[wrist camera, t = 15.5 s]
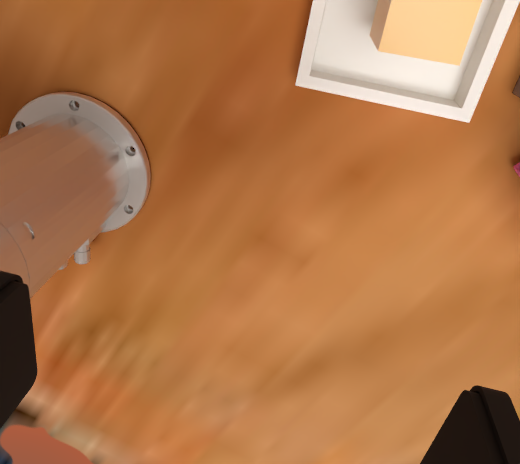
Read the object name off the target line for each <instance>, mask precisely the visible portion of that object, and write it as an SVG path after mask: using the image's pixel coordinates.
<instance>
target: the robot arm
mask: <svg viewBox="0 0 520 464" xmlns="http://www.w3.org/2000/svg"><path fill="white" fill-rule="evenodd" d="M77 102H78V103H77ZM78 104H79V105H78ZM132 147H134V149H135V150H134V149H133V148H132ZM150 179H151V173H150V166H149V160H148V157H147V154H146V151H145V148H144V146H143V145H142V143H141V141H140V139H139V137H138V135H137V134H136V132H135V131H134V130H133V128H132V127H131V126H130V125H129V123H128V122H127V121H126V120H125V119H124V118H123V117H122V116H121V115H120V114H119V113H117V112H116V111H115V110H113V109H112V108H110V107H109V106H108V105H106V104H105V103H103V102H101V101H99V100H97V99H94V98H92V97H90V96H87V95H83V94H79V93H74V92H56V93H50V94H47V95H44V96H41V97H38V98H36V99H34V100H32V101H31V102H29V103H27V104H26V105H25V106H24V107H23V108H22V109H21V110H19V111H18V113H17V114H16V116H15V117H14V119H13V120H12V123H11V126H10V129H9V132H8V135H7V136H4V137H2V138H0V428H1V427H2V426H3V424H4V423H5V422H6V421H7V419H8V418H9V417H10V415H11V414H12V413H13V411H14V410H15V409H16V407H17V406H18V405H19V403H20V402H21V401H22V399H23V398H24V397H25V395H26V394H27V393H28V391H29V390H30V389H31V387H32V386H33V384H34V382H35V379H36V376H37V363H36V353H35V343H34V333H33V324H32V314H31V304H30V298H31V297H32V296H33V295H34V294H35V293H36V292H37V291H38V290H39V289H40V288H41V287H42V286H43V285H44V284H45V283H46V282H47V281H48V280H49V279H50V278H51V277H52V276H53V275H54V274H55V273H56V272H57V271H58V270H61V269H64V268H65V267H67V265H68V259H69V258H70V257H71V256H72V255H73V254H74V260H75V262H76V263H78V264H86V263H88V262H90V259H91V257H90V243H91V242H92V241H93V240H94V238H95V237H96V236H97V235H98V234H99V233H101V232H108V231H112V230H115V229H118V228H120V227H122V226H124V225H125V224H127V223H128V222H129V221H130V220H132V219H133V218H134V217H135V216H136V215H137V213H138V212H139V211H140V210H141V209H142V207H143V205H144V203H145V201H146V199H147V196H148V193H149V189H150ZM420 464H520V421H519V418H518V416H517V413H516V411H515V408H514V406H513V403H512V401H511V399H510V397H509V395H508V394H507V393H505V392H502V391H498V390H494V389H490V388H486V387H482V386H474V387H472V389H471V390H470V391H467V390H464V391H463V392H462V393H461V395H460V396H459V398H458V400H457V401H456V403H455V405H454V406H453V408H452V410H451V412H450V413H449V415H448V417H447V418H446V420H445V422H444V424H443V425H442V427H441V429H440V430H439V432H438V434H437V436H436V437H435V439H434V441H433V442H432V444H431V446H430V448H429V449H428V451H427V453H426V454H425V456H424V458H423V459H422V461H421V463H420Z"/></svg>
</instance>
